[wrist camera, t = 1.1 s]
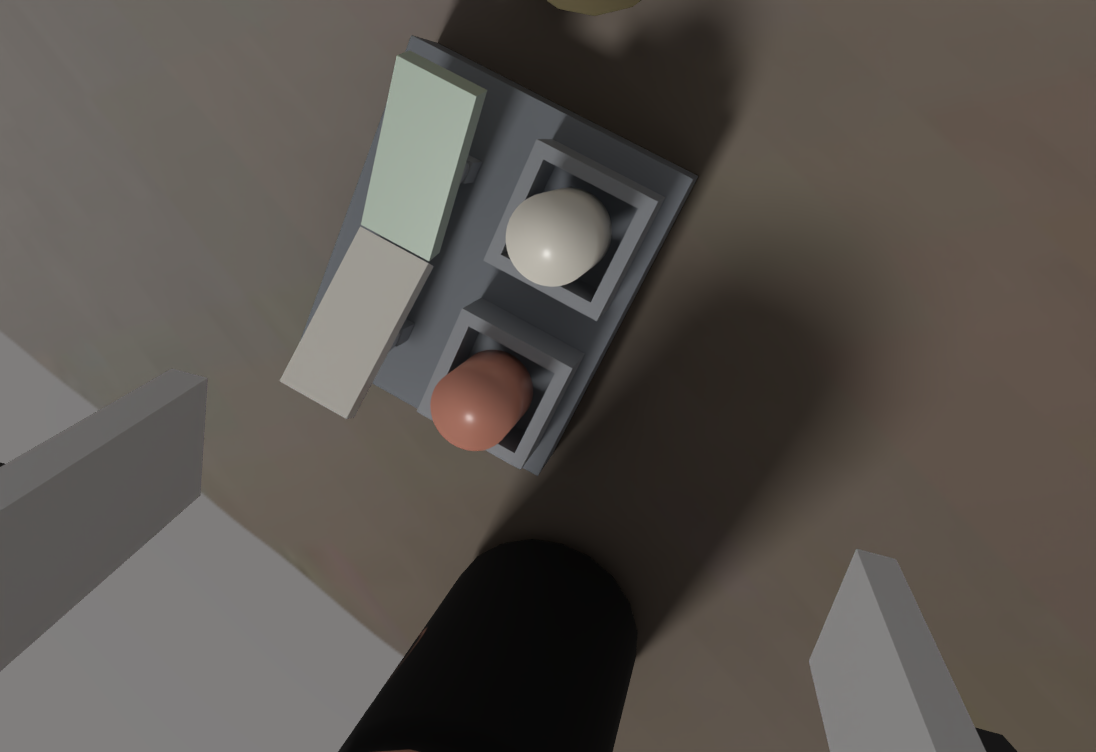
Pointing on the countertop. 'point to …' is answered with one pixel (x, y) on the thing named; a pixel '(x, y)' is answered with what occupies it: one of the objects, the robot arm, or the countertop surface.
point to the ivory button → (558, 235)
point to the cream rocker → (356, 323)
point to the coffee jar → (512, 661)
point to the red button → (481, 400)
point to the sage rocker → (421, 154)
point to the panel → (491, 278)
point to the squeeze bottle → (593, 5)
